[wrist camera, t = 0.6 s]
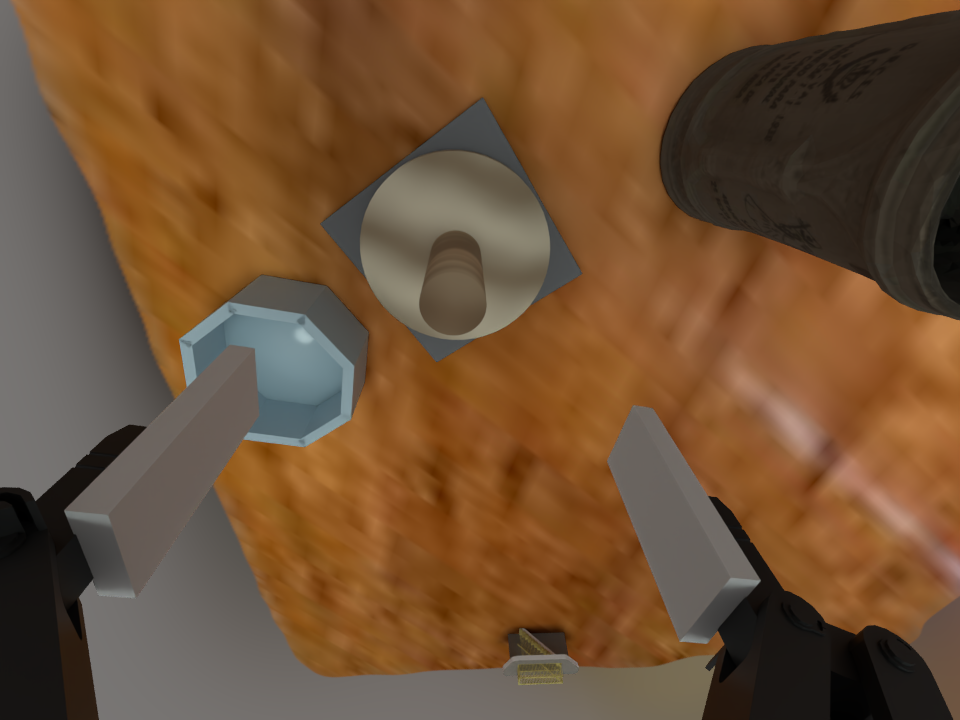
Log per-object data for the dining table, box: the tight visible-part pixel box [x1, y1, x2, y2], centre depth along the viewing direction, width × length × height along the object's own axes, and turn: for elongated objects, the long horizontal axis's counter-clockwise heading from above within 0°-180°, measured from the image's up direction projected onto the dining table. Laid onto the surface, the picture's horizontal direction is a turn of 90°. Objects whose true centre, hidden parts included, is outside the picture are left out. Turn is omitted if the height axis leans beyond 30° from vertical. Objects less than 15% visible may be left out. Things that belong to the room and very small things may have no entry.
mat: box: [321, 98, 582, 362], centre depth 32 cm, size 14×14×1 cm
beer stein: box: [660, 10, 960, 320], centre depth 22 cm, size 15×11×20 cm
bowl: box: [179, 275, 369, 447], centre depth 34 cm, size 12×12×6 cm
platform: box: [503, 628, 579, 685], centre depth 58 cm, size 12×18×7 cm, turn 90°
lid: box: [360, 150, 550, 340], centre depth 28 cm, size 14×14×11 cm
